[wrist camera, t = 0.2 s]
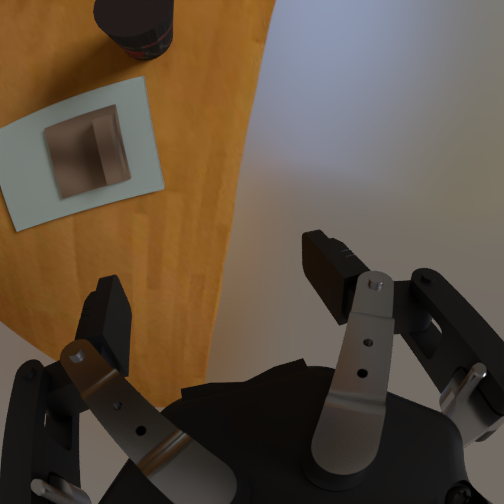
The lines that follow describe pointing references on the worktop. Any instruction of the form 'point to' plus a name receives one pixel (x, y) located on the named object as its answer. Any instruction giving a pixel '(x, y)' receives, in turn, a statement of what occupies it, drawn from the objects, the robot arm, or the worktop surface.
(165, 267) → the worktop surface
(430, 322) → the robot arm
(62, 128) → the cover
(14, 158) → the socket board
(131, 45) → the deodorant
